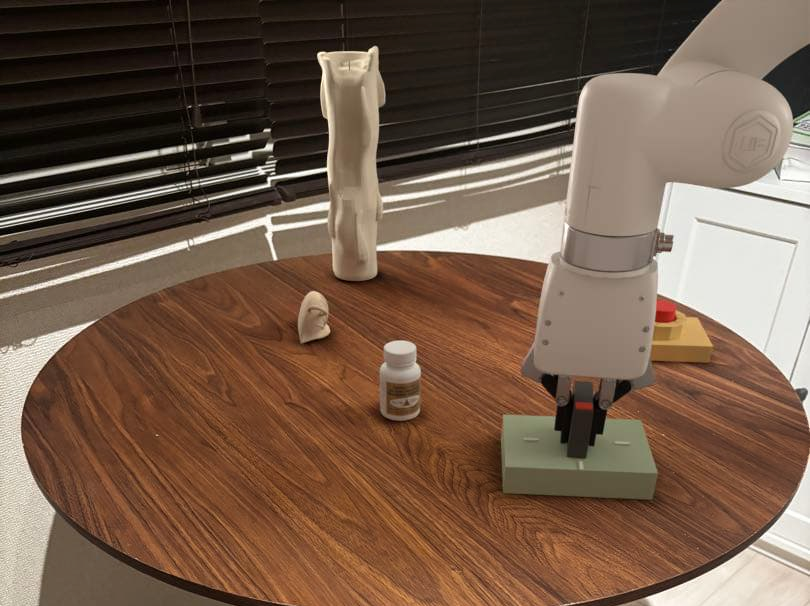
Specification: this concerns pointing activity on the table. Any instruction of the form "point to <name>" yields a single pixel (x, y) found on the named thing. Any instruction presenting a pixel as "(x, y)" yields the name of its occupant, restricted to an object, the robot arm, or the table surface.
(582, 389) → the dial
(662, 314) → the button
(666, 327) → the button block
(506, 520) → the table surface
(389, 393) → the pill bottle
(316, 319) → the decorative ornament
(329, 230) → the vase
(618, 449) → the block
